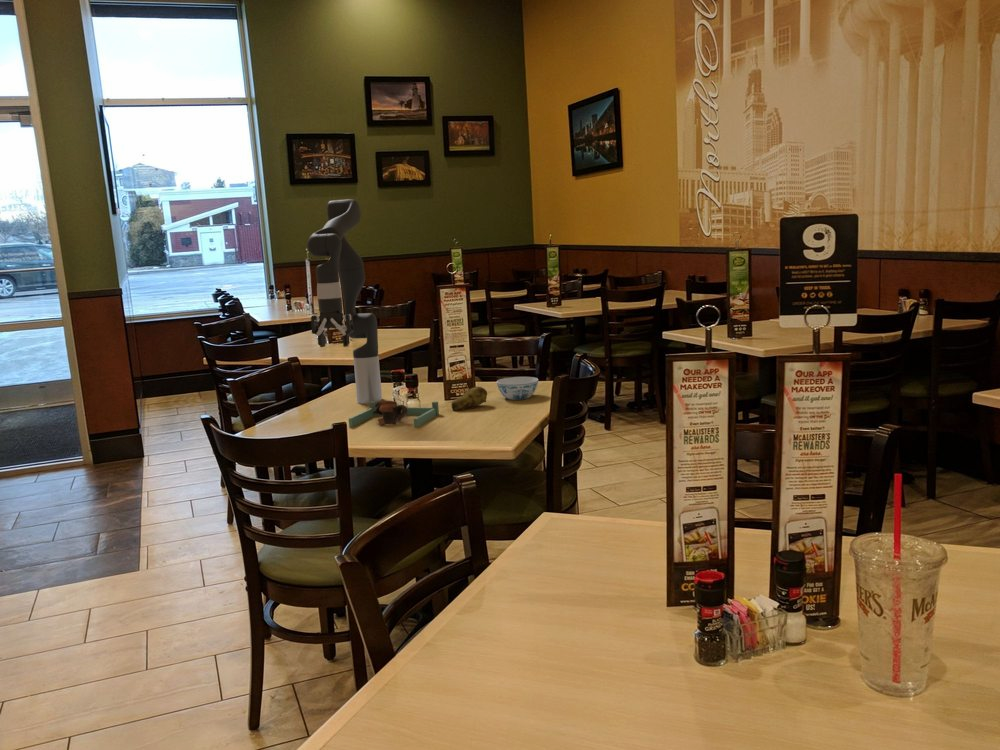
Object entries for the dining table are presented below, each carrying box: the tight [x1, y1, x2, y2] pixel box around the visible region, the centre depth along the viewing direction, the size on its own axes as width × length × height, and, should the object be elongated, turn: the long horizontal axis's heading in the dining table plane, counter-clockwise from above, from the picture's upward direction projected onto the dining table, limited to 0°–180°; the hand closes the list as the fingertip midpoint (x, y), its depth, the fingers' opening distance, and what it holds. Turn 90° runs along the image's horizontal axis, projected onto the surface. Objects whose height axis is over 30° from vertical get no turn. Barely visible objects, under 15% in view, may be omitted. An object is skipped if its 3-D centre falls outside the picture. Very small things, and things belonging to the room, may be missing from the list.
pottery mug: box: [373, 400, 407, 426], centre depth 275 cm, size 12×9×8 cm
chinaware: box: [496, 376, 539, 401], centre depth 300 cm, size 15×15×8 cm
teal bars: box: [348, 401, 440, 428], centre depth 277 cm, size 18×25×5 cm
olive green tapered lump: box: [450, 386, 488, 412], centre depth 288 cm, size 8×13×8 cm, turn 99°
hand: (334, 346), depth 271 cm, fingers open, 8 cm apart
